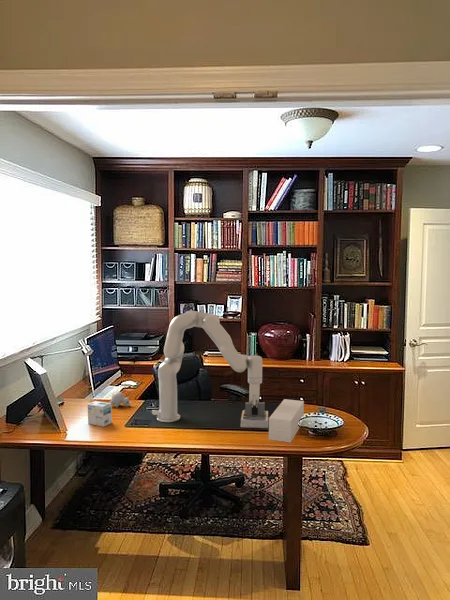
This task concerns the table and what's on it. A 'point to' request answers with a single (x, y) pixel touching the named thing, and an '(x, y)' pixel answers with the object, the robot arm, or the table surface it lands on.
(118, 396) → the round bodied animal figurine
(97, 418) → the light bulb box
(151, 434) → the table surface
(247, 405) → the panel
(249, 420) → the rack
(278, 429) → the grey rectangular block
